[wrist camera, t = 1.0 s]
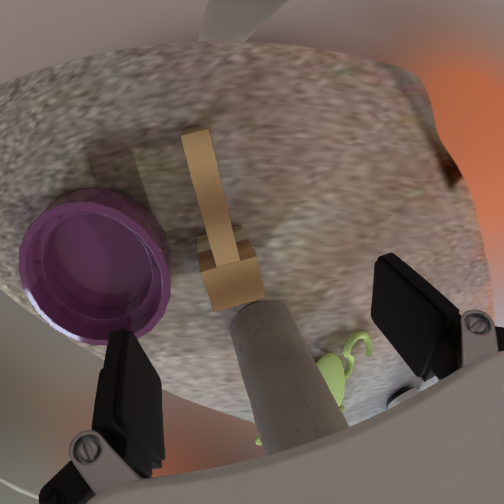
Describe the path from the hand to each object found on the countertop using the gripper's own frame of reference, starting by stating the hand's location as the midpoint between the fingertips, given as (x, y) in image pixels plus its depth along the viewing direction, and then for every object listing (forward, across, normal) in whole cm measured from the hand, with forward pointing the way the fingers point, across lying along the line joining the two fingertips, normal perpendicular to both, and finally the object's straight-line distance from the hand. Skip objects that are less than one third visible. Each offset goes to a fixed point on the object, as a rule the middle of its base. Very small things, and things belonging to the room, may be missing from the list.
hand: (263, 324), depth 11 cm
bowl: (+20, +13, +4) cm, 25 cm away
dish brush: (+20, 0, +2) cm, 20 cm away
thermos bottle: (+20, -2, +19) cm, 28 cm away
